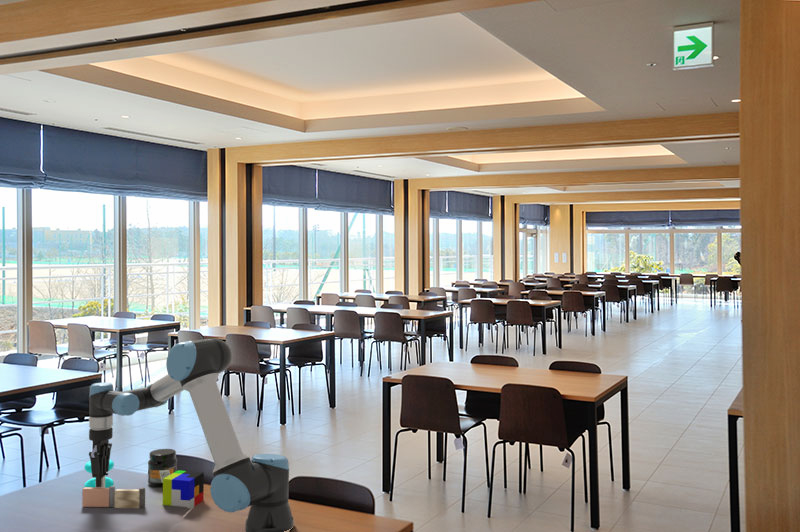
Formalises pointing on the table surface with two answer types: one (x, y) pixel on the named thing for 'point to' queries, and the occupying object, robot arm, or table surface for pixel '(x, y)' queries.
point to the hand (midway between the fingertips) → (100, 495)
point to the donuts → (92, 481)
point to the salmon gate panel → (98, 497)
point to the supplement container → (161, 466)
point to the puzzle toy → (183, 489)
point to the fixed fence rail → (130, 498)
